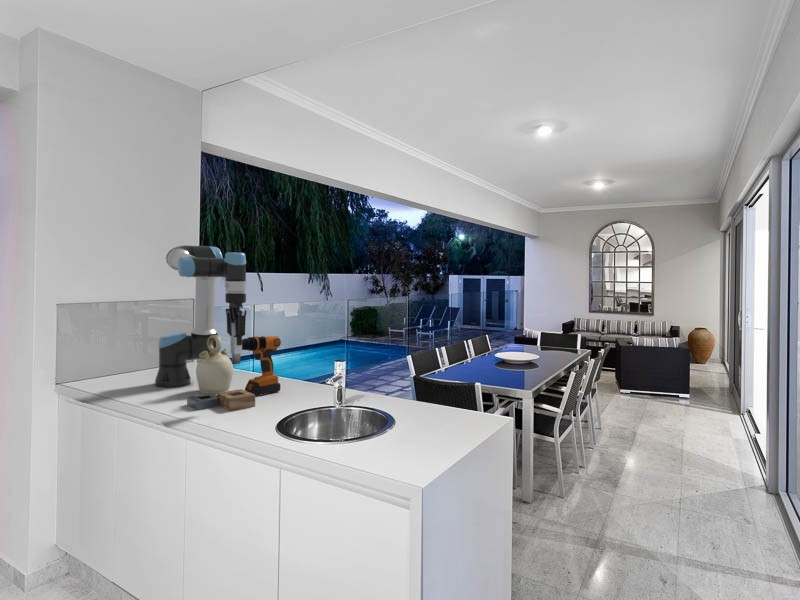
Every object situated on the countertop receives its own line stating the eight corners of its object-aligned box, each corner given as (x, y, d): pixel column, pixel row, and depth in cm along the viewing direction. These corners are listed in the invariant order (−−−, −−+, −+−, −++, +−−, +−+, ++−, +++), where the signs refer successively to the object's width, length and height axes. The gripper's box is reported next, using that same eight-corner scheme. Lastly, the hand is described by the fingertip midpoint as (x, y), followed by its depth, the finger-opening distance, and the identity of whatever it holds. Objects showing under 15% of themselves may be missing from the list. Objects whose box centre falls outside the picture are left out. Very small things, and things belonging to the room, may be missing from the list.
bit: (230, 363, 189) (230, 322, 189) (238, 362, 192) (237, 321, 191) (233, 364, 187) (233, 322, 186) (241, 363, 189) (241, 322, 189)
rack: (217, 405, 191) (217, 392, 191) (241, 401, 198) (241, 389, 198) (230, 412, 183) (230, 398, 182) (255, 407, 190) (255, 394, 189)
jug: (203, 397, 204) (203, 337, 203) (191, 390, 216) (190, 334, 215) (238, 391, 214) (238, 335, 213) (225, 385, 226) (224, 331, 225)
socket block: (187, 405, 190) (187, 397, 190) (212, 401, 197) (212, 393, 197) (196, 411, 183) (196, 402, 183) (222, 406, 190) (222, 397, 190)
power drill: (240, 399, 200) (239, 339, 199) (230, 396, 205) (230, 337, 204) (284, 391, 216) (284, 335, 215) (274, 388, 221) (274, 333, 220)
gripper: (217, 292, 191) (217, 351, 193) (235, 293, 180) (236, 356, 181) (235, 291, 197) (236, 349, 198) (254, 293, 185) (254, 354, 186)
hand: (236, 352), depth 189 cm, fingers closed on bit, 3 cm apart
